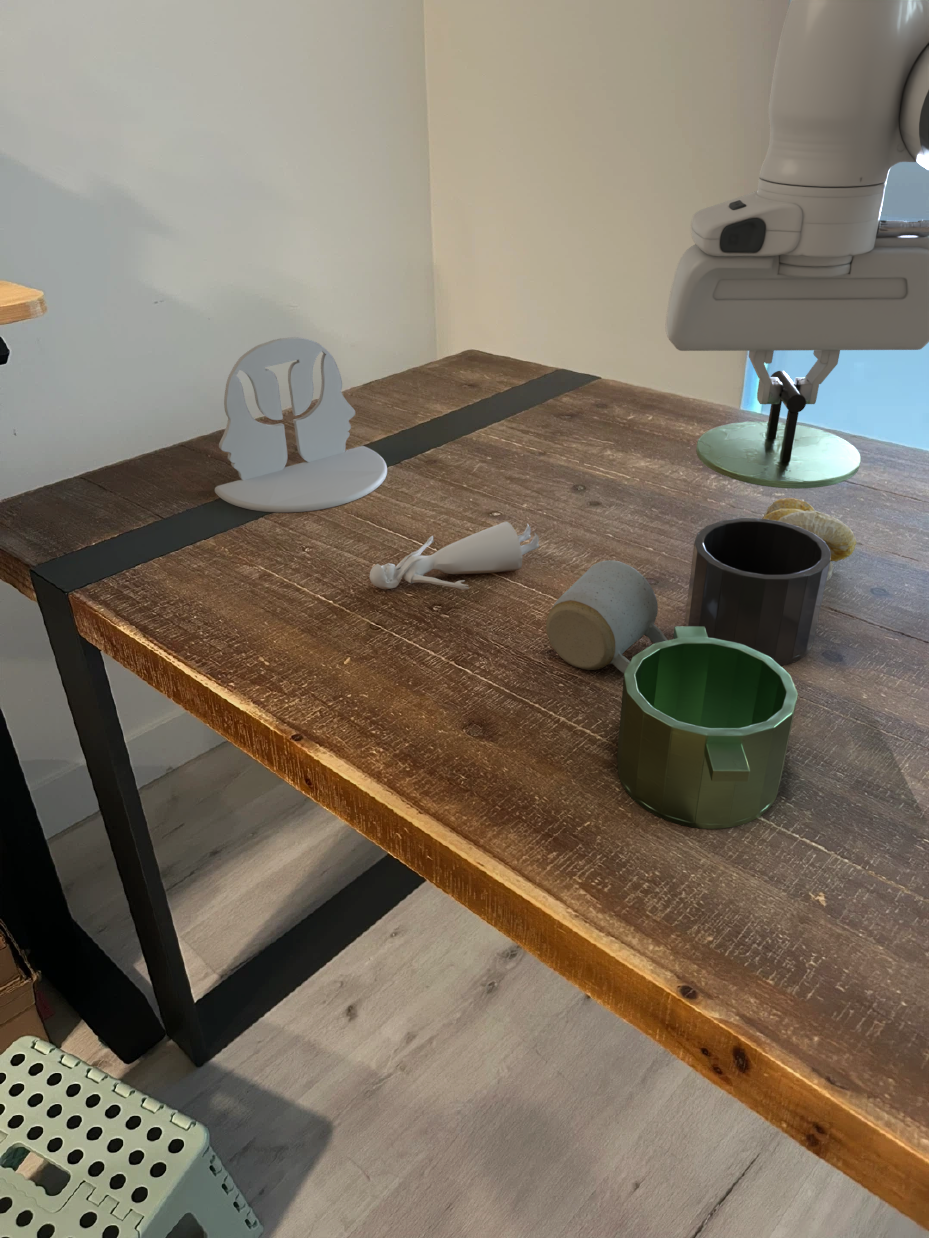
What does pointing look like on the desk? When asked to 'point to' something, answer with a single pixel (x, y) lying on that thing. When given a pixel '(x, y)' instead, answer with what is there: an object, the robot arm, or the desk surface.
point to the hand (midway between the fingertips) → (785, 402)
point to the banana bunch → (815, 526)
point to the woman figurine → (460, 558)
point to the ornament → (317, 433)
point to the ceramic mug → (603, 616)
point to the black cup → (758, 585)
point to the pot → (704, 730)
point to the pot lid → (779, 449)
